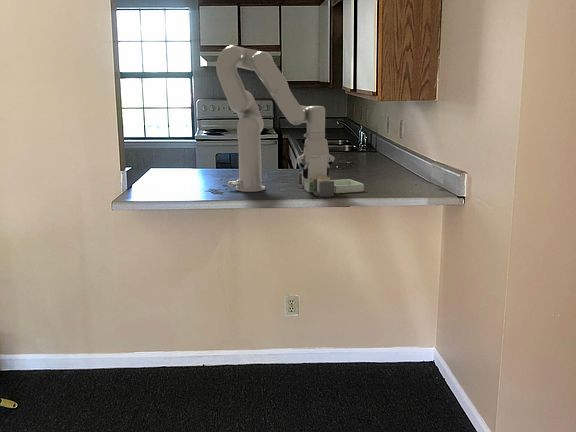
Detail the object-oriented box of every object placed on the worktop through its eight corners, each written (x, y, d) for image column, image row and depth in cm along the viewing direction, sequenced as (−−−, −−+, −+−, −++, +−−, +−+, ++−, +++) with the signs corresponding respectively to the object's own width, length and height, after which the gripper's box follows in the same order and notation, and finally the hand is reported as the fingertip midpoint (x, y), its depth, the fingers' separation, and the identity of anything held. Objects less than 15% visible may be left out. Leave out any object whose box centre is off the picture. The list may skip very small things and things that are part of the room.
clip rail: (319, 196, 247) (319, 180, 245) (297, 186, 270) (297, 171, 269) (334, 195, 249) (335, 180, 247) (311, 185, 272) (311, 170, 271)
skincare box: (308, 192, 255) (308, 155, 252) (303, 189, 262) (303, 153, 258) (327, 191, 258) (327, 154, 254) (322, 188, 264) (322, 152, 260)
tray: (336, 193, 254) (336, 186, 254) (323, 187, 267) (323, 180, 266) (363, 191, 258) (363, 184, 258) (349, 185, 271) (350, 179, 270)
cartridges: (320, 195, 249) (320, 177, 247) (301, 186, 269) (301, 170, 267) (329, 195, 250) (330, 177, 248) (310, 186, 270) (310, 169, 269)
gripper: (299, 137, 248) (299, 180, 252) (338, 136, 254) (338, 177, 258) (293, 136, 255) (293, 177, 259) (331, 134, 261) (331, 175, 264)
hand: (315, 177), depth 258 cm, fingers closed on skincare box, 8 cm apart
